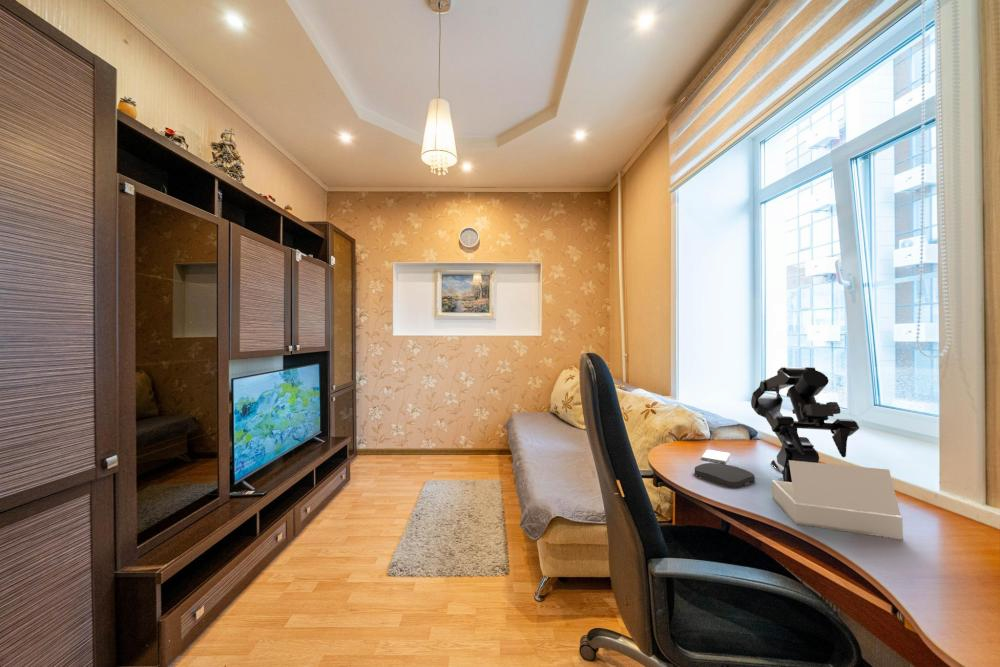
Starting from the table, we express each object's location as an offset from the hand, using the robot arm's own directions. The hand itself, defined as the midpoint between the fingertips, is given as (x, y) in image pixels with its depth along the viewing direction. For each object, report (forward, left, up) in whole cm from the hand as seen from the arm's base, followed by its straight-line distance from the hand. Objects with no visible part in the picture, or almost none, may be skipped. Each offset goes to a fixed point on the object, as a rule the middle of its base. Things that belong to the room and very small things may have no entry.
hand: (823, 455), depth 96 cm
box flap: (+12, -6, -9) cm, 16 cm away
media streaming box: (-22, -13, -15) cm, 30 cm away
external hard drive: (-42, -3, -15) cm, 45 cm away
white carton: (+4, -3, -14) cm, 15 cm away
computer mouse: (-27, +12, -15) cm, 33 cm away
